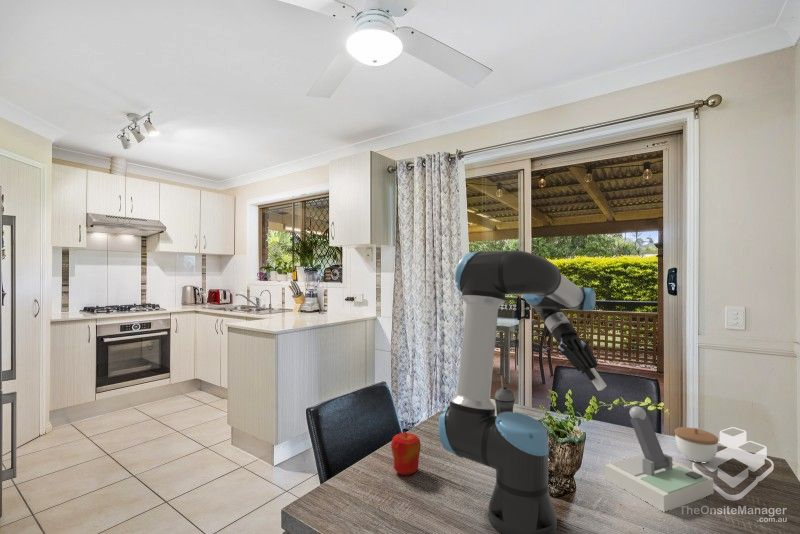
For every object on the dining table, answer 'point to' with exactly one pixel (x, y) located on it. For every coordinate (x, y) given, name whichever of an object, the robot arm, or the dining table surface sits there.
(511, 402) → the beverage cup
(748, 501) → the dining table surface
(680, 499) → the switch box
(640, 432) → the toggle lever
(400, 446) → the apple
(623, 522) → the dining table surface
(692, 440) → the lidded jar
